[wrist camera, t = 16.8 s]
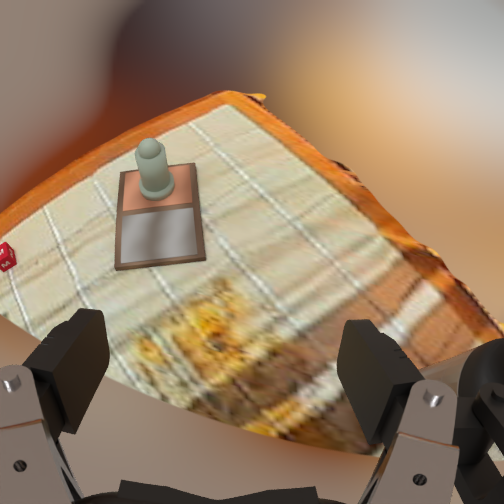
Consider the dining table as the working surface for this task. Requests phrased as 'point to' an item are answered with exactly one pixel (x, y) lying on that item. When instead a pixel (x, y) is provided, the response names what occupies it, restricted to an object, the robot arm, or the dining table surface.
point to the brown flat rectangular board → (158, 222)
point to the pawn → (153, 170)
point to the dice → (6, 257)
